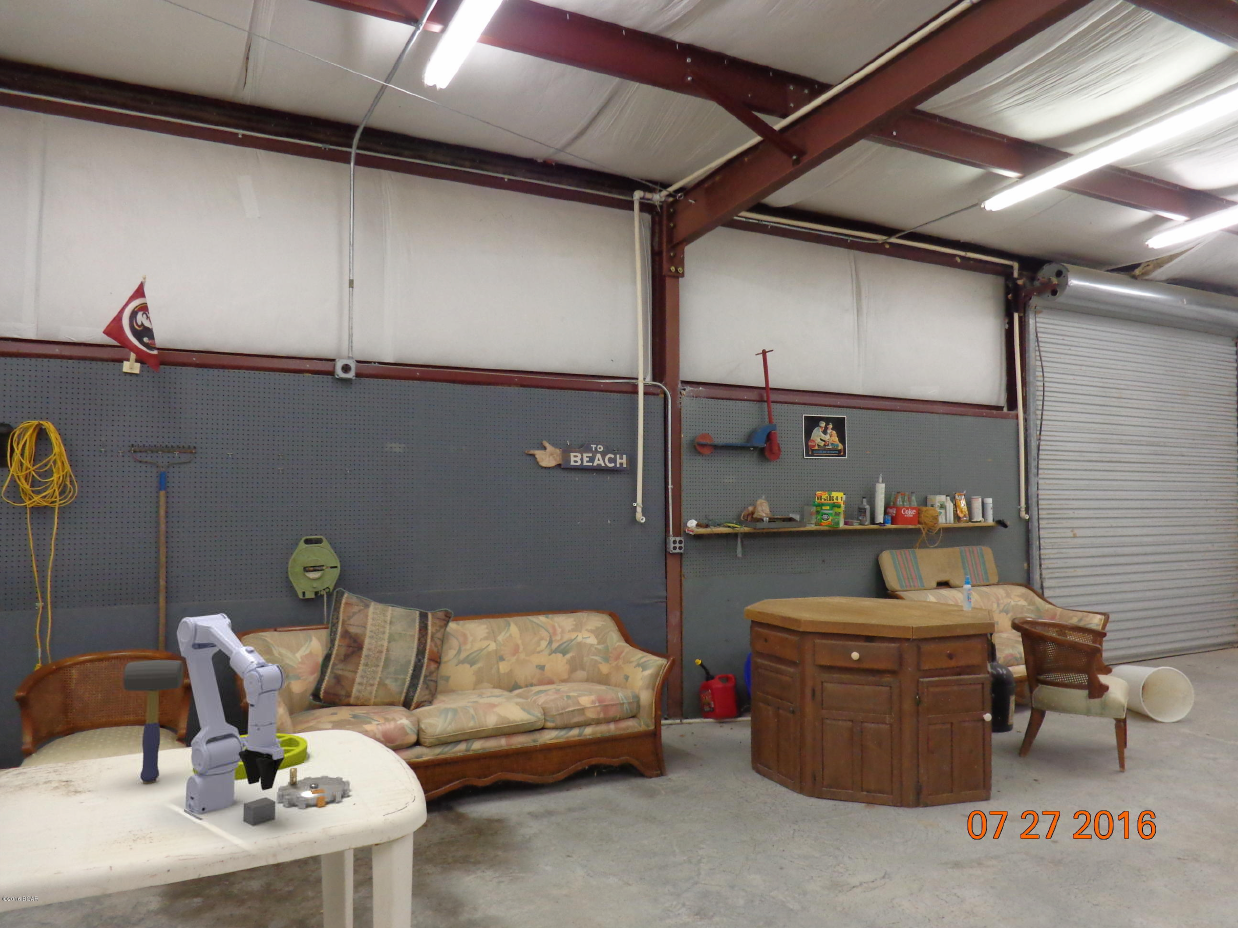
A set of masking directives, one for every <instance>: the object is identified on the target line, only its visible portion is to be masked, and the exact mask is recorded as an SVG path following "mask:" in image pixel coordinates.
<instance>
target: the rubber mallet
mask: <svg viewBox="0 0 1238 928" xmlns="http://www.w3.org/2000/svg"><path fill="white" fill-rule="evenodd" d="M183 679H184V663H183V662H182V660H172V659H153V660H141V661H131V662H128V663H127V664H126V665H125V667H124V669H123V679H122V682H123V683H122V684H123V685H122V686H123V688H124V689H125V691H127V692H128V691H130V692H133V691H134V692H135V691H136V692H147V698H146V699H147V702H146V720H145V724H144V727H143V732H142V743H141V744H142V754H143V755H142V769H141V771H140V780H141V781H142V783H143V784H152V783H156V781H157V779H158V778H159V776H160V770H159V750H160V744H161V730H160V729H161V728H160V723H159V707H160V706H159V704H160V703H159V702H160V700H159V699H160V698H159V697H160V691H164V690H165V691H166V690H174V689H179V688H180V687H181V686H182V684H183Z"/></svg>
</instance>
